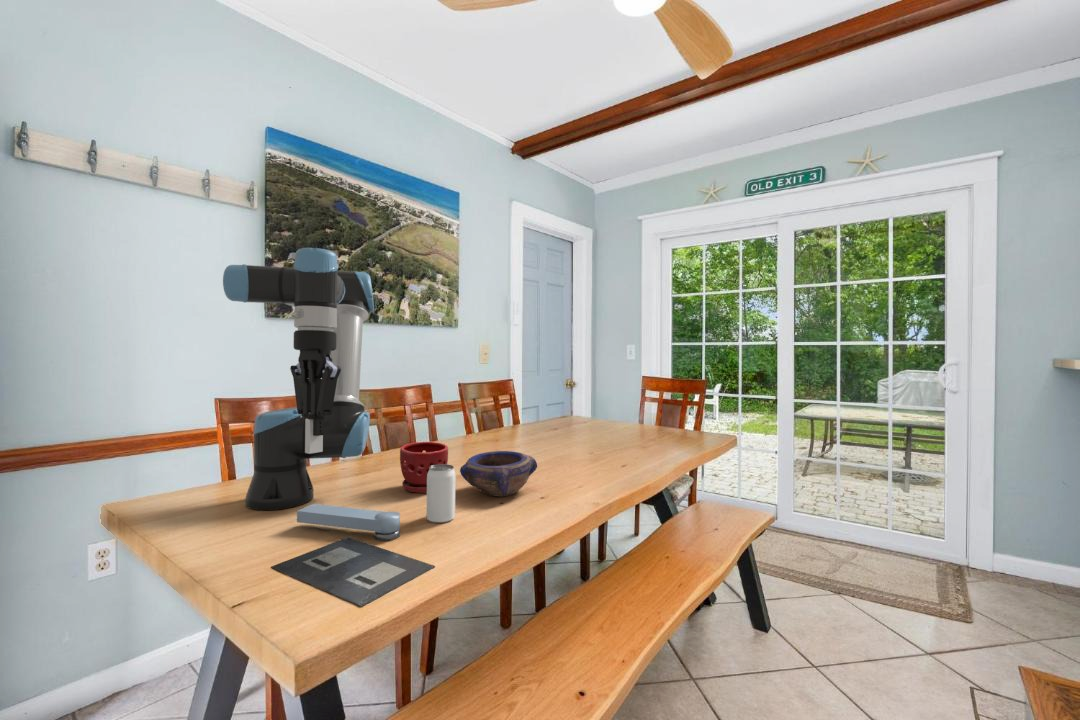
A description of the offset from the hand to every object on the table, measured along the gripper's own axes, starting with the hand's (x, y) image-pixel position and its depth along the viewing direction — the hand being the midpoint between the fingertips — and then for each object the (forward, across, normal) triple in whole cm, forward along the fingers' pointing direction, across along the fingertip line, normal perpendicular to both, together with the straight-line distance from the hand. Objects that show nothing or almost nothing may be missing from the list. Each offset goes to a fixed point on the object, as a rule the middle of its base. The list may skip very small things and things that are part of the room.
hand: (313, 452), depth 93 cm
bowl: (+19, +6, +51) cm, 55 cm away
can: (+19, +8, +27) cm, 34 cm away
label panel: (+19, +12, 0) cm, 23 cm away
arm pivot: (+19, +6, +13) cm, 24 cm away
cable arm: (+17, -2, +10) cm, 20 cm away
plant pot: (+18, -13, +41) cm, 47 cm away
